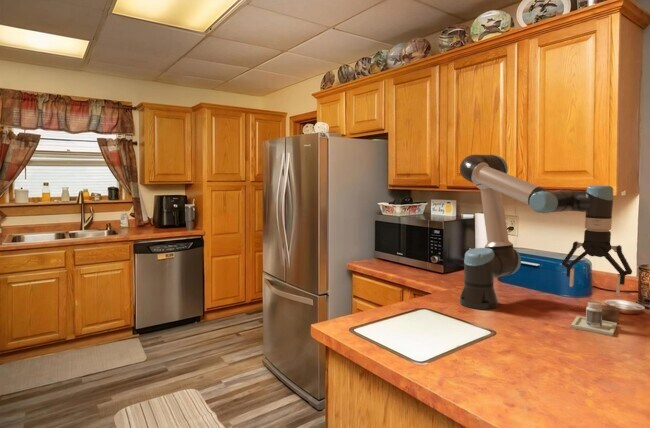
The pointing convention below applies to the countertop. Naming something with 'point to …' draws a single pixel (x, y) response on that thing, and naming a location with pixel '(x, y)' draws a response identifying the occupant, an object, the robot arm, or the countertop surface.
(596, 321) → the pill bottle
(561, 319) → the countertop surface
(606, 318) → the walnut cube
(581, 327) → the tray
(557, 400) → the countertop surface
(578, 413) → the countertop surface
